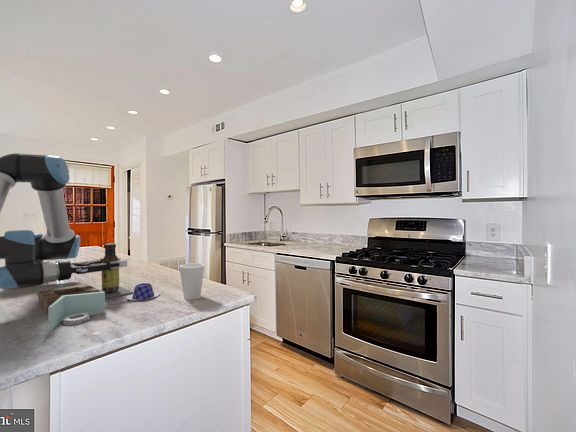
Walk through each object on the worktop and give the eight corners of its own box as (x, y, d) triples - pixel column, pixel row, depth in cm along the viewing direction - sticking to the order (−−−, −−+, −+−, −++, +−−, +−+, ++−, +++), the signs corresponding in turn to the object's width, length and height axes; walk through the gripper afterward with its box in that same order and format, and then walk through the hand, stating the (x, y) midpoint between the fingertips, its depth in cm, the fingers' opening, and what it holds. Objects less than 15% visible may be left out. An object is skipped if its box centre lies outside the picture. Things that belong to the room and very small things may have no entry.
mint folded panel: (48, 332, 84) (48, 307, 83) (62, 317, 95) (62, 295, 94) (96, 325, 88) (96, 301, 88) (105, 312, 99) (104, 291, 99)
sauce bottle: (101, 290, 121) (100, 243, 120) (118, 287, 124) (117, 242, 124) (102, 293, 115) (101, 244, 115) (120, 291, 119) (119, 243, 119)
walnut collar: (38, 305, 105) (38, 291, 105) (86, 295, 117) (86, 283, 117) (48, 314, 96) (48, 300, 96) (99, 303, 107) (99, 290, 107)
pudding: (135, 293, 122) (135, 280, 122) (164, 292, 122) (164, 280, 122) (120, 302, 110) (120, 288, 110) (151, 302, 110) (151, 288, 110)
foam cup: (196, 301, 109) (196, 268, 109) (175, 300, 111) (174, 267, 111) (208, 294, 119) (208, 263, 118) (188, 293, 121) (188, 262, 120)
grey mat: (88, 293, 120) (88, 292, 120) (119, 287, 129) (119, 286, 129) (100, 300, 111) (100, 298, 111) (132, 293, 120) (132, 291, 120)
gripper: (50, 277, 112) (114, 267, 130) (63, 285, 100) (133, 273, 118) (49, 258, 112) (114, 251, 129) (63, 264, 99) (132, 255, 117)
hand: (123, 262), depth 123 cm, fingers open, 6 cm apart
